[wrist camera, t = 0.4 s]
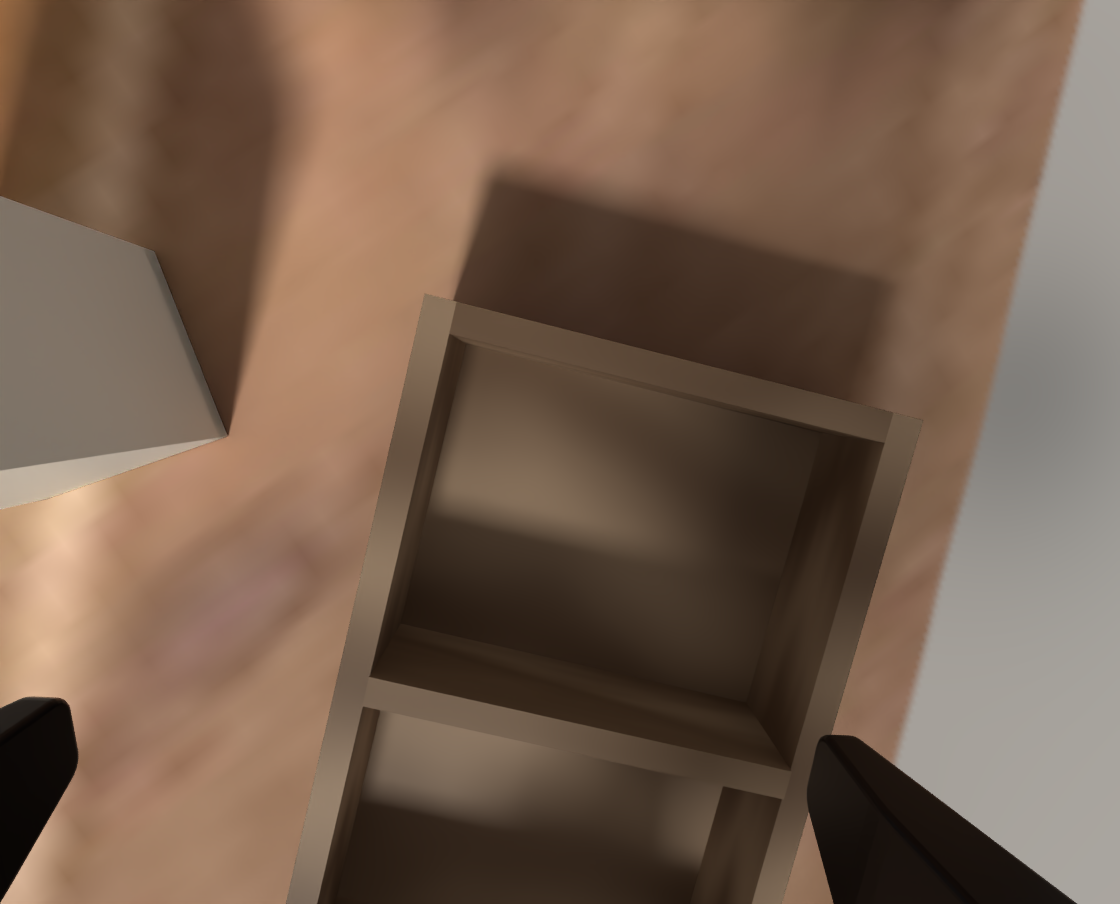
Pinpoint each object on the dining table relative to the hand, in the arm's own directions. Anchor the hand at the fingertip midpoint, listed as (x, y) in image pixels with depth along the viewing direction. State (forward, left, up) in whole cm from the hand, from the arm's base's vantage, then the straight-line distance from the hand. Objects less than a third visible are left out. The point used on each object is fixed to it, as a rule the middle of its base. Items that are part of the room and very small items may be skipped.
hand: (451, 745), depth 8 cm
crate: (-4, -3, -14) cm, 15 cm away
